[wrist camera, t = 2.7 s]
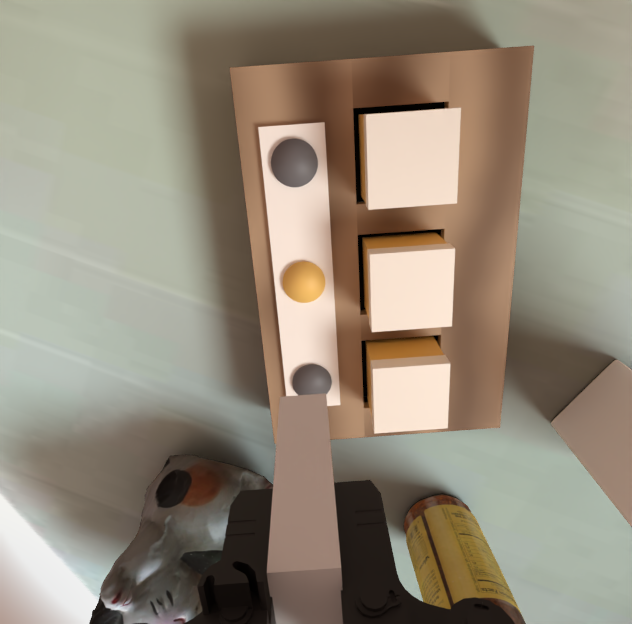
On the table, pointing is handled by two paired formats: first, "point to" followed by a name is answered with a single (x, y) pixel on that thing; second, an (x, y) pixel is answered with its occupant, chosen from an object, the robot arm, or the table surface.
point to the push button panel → (302, 256)
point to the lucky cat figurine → (174, 543)
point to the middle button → (408, 281)
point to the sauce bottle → (454, 556)
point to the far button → (407, 384)
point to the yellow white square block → (409, 158)
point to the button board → (401, 211)
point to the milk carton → (603, 433)
